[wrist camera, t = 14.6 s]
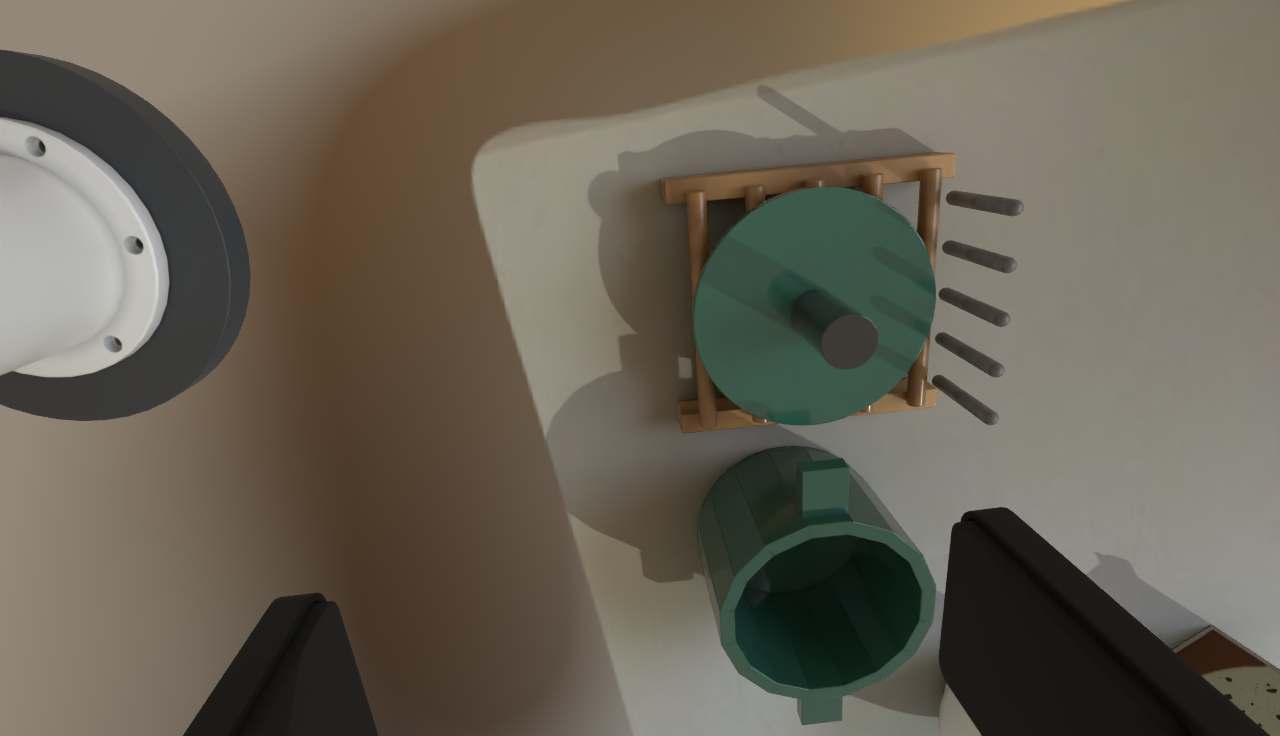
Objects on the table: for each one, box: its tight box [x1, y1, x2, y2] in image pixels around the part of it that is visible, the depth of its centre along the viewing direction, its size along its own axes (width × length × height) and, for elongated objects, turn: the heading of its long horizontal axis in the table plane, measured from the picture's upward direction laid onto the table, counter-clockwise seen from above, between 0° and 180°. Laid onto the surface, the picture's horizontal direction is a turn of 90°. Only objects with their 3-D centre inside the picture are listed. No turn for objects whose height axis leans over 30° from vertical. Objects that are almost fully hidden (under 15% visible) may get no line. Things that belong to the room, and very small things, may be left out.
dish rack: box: [661, 152, 1024, 433], centre depth 33 cm, size 15×14×8 cm
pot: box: [698, 446, 936, 725], centre depth 38 cm, size 12×17×8 cm
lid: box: [692, 186, 936, 425], centre depth 31 cm, size 13×13×6 cm
